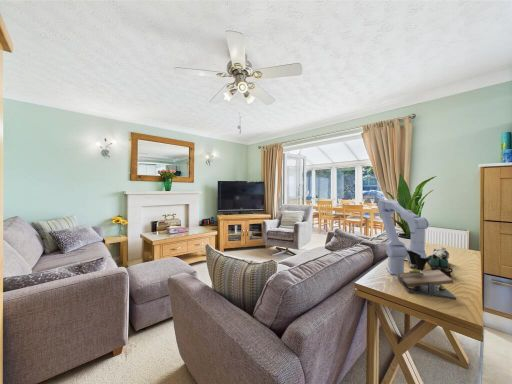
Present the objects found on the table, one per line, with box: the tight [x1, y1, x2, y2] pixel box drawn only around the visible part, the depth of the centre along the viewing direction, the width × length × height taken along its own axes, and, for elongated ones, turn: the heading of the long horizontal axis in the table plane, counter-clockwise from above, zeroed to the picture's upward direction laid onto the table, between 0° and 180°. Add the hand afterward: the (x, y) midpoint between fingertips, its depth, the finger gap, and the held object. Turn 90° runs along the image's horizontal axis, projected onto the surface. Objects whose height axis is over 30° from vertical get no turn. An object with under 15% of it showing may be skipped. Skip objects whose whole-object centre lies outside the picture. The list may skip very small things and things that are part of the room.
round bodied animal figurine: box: [406, 254, 417, 268], centre depth 129 cm, size 7×12×8 cm, turn 130°
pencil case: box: [426, 247, 450, 267], centre depth 130 cm, size 22×8×10 cm, turn 130°
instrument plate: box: [398, 269, 454, 287], centre depth 100 cm, size 12×18×3 cm, turn 71°
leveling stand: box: [397, 276, 457, 300], centre depth 100 cm, size 15×18×6 cm
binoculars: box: [429, 254, 453, 277], centre depth 116 cm, size 9×11×10 cm
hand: (416, 267), depth 104 cm, fingers open, 7 cm apart
